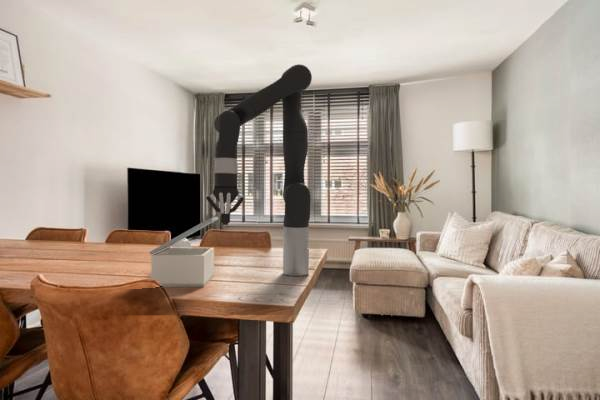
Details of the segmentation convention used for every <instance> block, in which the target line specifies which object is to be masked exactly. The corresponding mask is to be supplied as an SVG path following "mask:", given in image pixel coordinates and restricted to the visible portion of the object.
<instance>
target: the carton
mask: <svg viewBox="0 0 600 400" xmlns="http://www.w3.org/2000/svg"><path fill="white" fill-rule="evenodd" d="M150 255H151V254H150ZM150 266H151V268H150V273H151V274H150V275H151V277H150V278H151V279H154V280H156V281H158V282H159V283H160V284H161V285H162V286H163V287H162V288H204V287H206V285H207V284H208V283H209V282H210V281H211V280H212V278H213V277H214V276H215V247H191V248H172V247H167V248H165V249H163V250H161V251H158V252H156V253H154V254H152V255H151V265H150ZM151 279H150V280H151Z"/></svg>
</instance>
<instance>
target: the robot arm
mask: <svg viewBox="0 0 600 400" xmlns="http://www.w3.org/2000/svg"><path fill="white" fill-rule="evenodd" d="M312 77H313V76H312V72H311V70H310V69H309V67H307V66H306V65H304V64H295V65H292V66H290V67H289V68H287V69H286V70H285V71H284V72H283V73H282V75H281V77H280V78H279V79H277V80H275V81H274V82H273V83H271V84H268V85H267V86H265V87H263V88H262V89H260V90H258V91H256V92H254V93H253V94H251V95H248V96H247V97H246V98H244V99H243V100H241V101H240V102H239V103H237V104H236V105H234V106H233V107H231V108H229V109H227V110H224V111H222V112H221V113H220V114H218V115H216V117H215V119H214V121H213V125H214V126H213V127H214V129H215V131H216V132H217V133H218V140H217V141H216V144H215V145H216V146H215V162H214V170H213V172H214V177H213V178H214V181H213V182H214V187H213V190H212V193H211V194H210V195H208V196H206V200H207V202H208V203H209V204H210V206H211V207H212V208H213V210H214V211H215V212H218V213H219V214H220V223H221V224H222V226H228V225H229V224H230V223H231V214H232V213H234V212H236V211H237V210H238V208H239V207H240V206H241V205H242V203H244V201H245V199H246V198H245V197H244V196H243V195H241V194H240V191H239V188H238V186H239V184H238V178H239V177H238V175H239V174H238V172H239V171H238V167H239V165H238V143H239V138H240V132H241V126H243V125H244V124H246V123H248V122H250V121H252V120H254V119H256V118H258V117H259V116H260V115H262V114H263V113H265V112H266V111H268V110H269V109H270V108H271V107H273V106H274V105H276V104H278V103H279V102H280V101H282V103H281V104H282V153H283V162H284V163H283V165H284V178H283V179H284V181H283V191H282V198H283V201H284V216H283V217H284V218H283V228H282V229H283V237H282V239H283V240H282V242H283V244H282V246H283V248H282V251H283V252H282V273H283V275H285V276H290V277H301V276H302V277H303V276H309V274H310V273H309V272H310V271H309V269H310V268H309V266H310V264H309V263H310V260H309V259H310V248H309V230H310V229H309V227H310V226H309V225H310V219H311V197H312V196H311V191H310V189H309V188H308V186H307V185H306V184H305V165H306V160H307V156H308V155H307V154H308V148H309V146H308V145H309V143H308V141H309V136H308V135H309V133H308V132H309V130H308V126H307V122H306V120H305V117H304V115H303V111H302V106H301V105H302V104H301V101H302V100H301V97H302V92H303V91H304V92H305V90H307V89H308V88H309V87H310V85H311V84H312V79H313V78H312ZM215 199H216V200H217V202H218V203H219V206H218V204H217V203H216V201H215ZM235 200H236V201H237V202H236V203H235V204H234V205H233V207H232V204H233V202H234V201H235Z"/></svg>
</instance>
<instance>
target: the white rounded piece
mask: <svg viewBox="0 0 600 400" xmlns="http://www.w3.org/2000/svg"><path fill="white" fill-rule="evenodd" d="M171 246H172V247H171V248H192V244H191V242H190V241H189V239H187V237H185V238H184V239H182V240H180V241H178V242H176V243H175V244H173V245H171Z"/></svg>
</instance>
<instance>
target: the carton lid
mask: <svg viewBox="0 0 600 400" xmlns="http://www.w3.org/2000/svg"><path fill="white" fill-rule="evenodd" d="M218 220H219V217H218V216H214V217H211V218H208V219H206V220H204V221H203V222H202V221H201V222H200V223H199V224H197V225H195V226H193V227H192V228H190V229H188V230H186V231H184V232H183V233H181V234H179V235H178V236H175V237H174V238H171V239H170V240H168V241H166V242H165V243H163V244H160V245H159V246H158V247H156V248H154V249H152V250H150V251H149V254H150V255H153V254H155V253H158V252H160V251H162V250H164V249H166V248H170V247H171V246H172V245H173V244H175V243H176V242H178V241H180V240H182V239H184V238H187V237H189V236H191V235H192V234H194V233H196V232H198V231H200V230H201V229H204V228H205V227H207V226H209V225H210V224H212V223H214V222H216V221H218Z"/></svg>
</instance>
